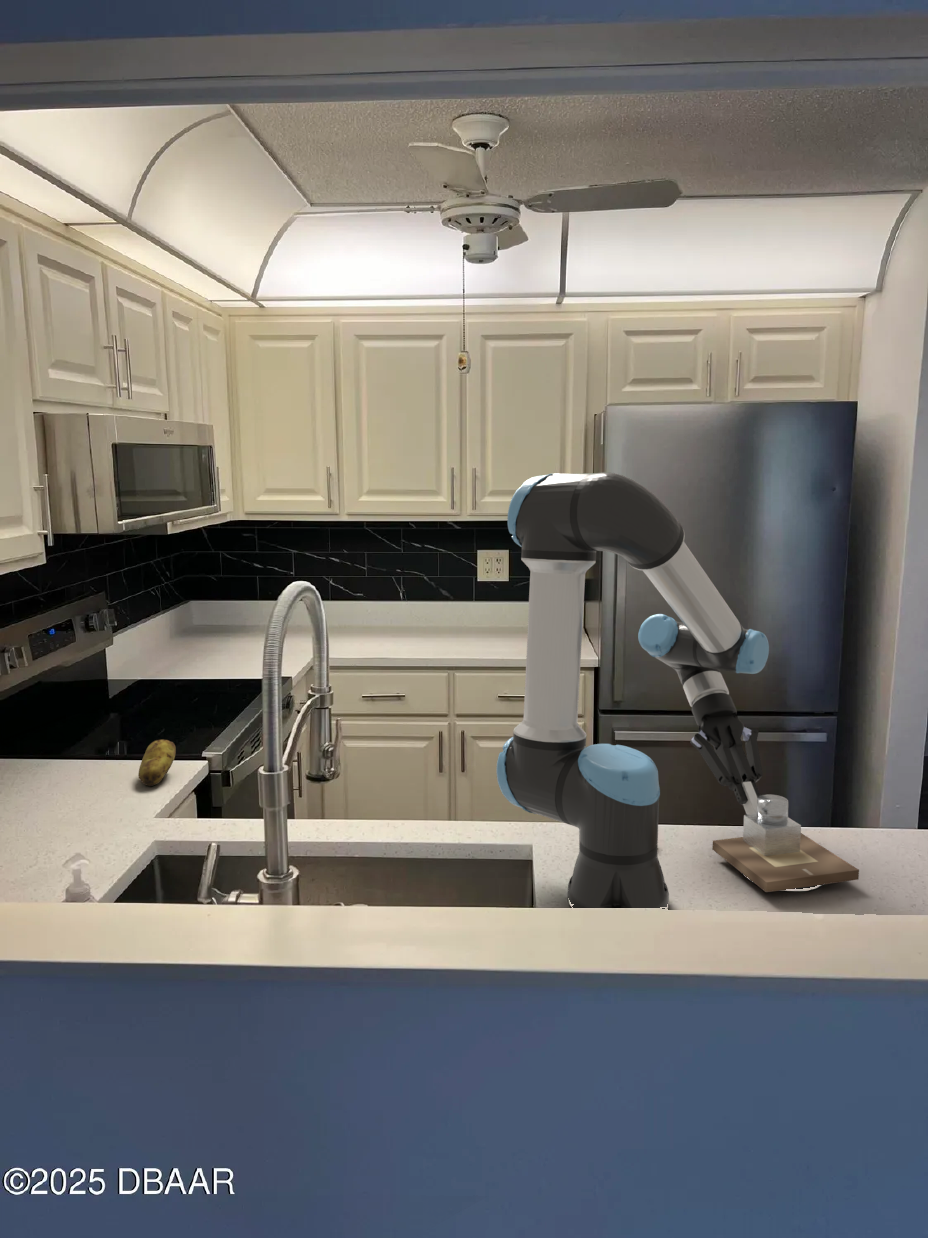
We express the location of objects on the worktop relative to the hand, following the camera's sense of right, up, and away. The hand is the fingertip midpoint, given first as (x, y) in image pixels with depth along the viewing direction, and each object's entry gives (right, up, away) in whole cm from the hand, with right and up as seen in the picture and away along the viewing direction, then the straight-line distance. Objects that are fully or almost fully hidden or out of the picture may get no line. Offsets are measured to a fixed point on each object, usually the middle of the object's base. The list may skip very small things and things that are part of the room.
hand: (757, 820), depth 146 cm
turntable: (+2, -5, -7) cm, 9 cm away
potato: (-118, -2, +45) cm, 126 cm away
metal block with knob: (+1, -3, -4) cm, 5 cm away
